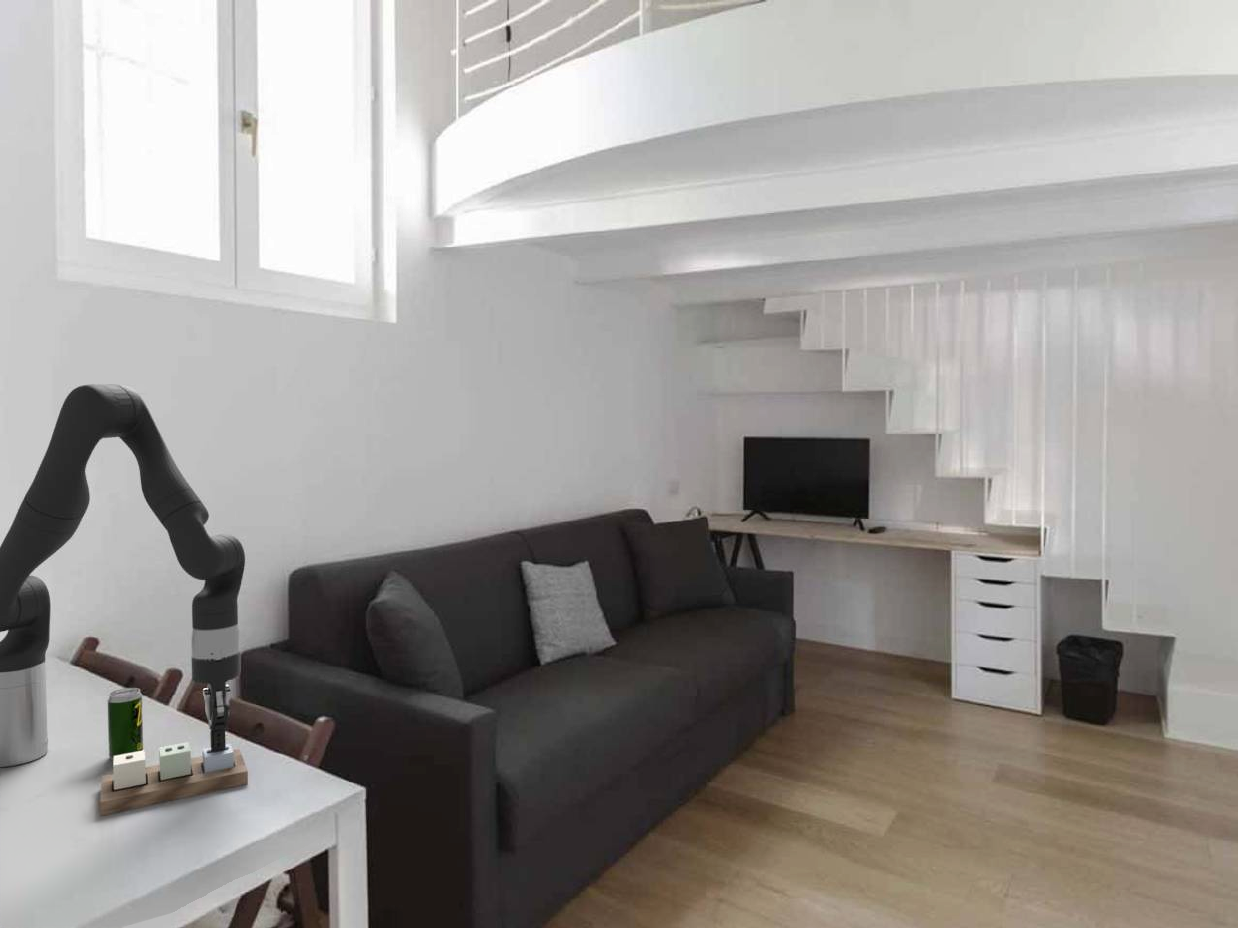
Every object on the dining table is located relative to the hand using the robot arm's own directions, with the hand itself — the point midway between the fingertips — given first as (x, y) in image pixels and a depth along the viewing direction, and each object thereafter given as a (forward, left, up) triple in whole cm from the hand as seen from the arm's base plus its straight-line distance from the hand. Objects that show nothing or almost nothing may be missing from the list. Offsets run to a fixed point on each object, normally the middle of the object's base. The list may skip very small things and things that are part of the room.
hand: (218, 749), depth 135 cm
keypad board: (-7, 0, -5) cm, 8 cm away
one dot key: (-13, 0, -2) cm, 13 cm away
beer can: (-14, +19, -5) cm, 24 cm away
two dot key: (-7, 0, -2) cm, 7 cm away
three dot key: (0, 0, -4) cm, 4 cm away
